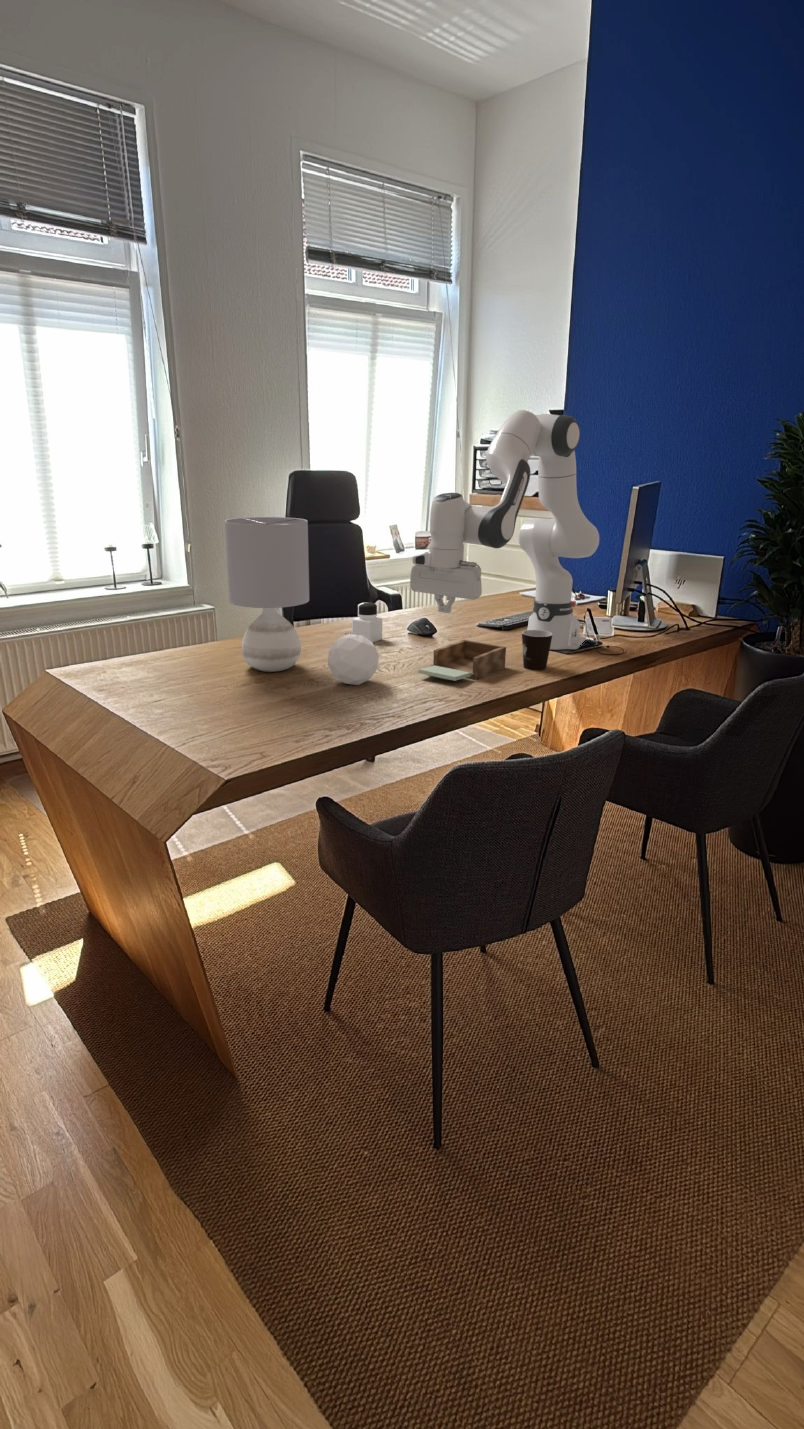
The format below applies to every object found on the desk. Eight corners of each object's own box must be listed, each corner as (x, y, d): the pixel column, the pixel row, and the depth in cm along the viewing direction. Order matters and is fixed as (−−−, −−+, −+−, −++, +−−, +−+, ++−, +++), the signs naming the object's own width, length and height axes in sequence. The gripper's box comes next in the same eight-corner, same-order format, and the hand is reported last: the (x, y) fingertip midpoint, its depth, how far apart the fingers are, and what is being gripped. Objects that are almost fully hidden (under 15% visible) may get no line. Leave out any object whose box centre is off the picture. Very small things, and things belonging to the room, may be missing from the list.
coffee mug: (549, 672, 220) (552, 637, 217) (518, 670, 222) (520, 635, 219) (550, 661, 231) (553, 628, 228) (521, 659, 233) (523, 626, 229)
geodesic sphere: (310, 657, 210) (326, 622, 200) (353, 650, 218) (370, 616, 208) (333, 699, 204) (350, 665, 194) (376, 690, 212) (395, 658, 202)
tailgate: (435, 665, 218) (418, 669, 212) (470, 672, 211) (455, 676, 205) (434, 670, 218) (418, 674, 212) (470, 677, 212) (454, 681, 205)
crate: (463, 659, 232) (464, 639, 230) (504, 667, 224) (506, 647, 223) (430, 671, 219) (431, 650, 217) (473, 680, 211) (474, 659, 209)
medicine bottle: (382, 639, 255) (382, 602, 251) (370, 643, 249) (370, 606, 245) (364, 636, 258) (364, 600, 254) (352, 640, 252) (351, 603, 248)
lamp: (326, 667, 221) (324, 521, 208) (266, 683, 206) (259, 526, 193) (277, 654, 235) (272, 515, 222) (217, 667, 220) (207, 519, 206)
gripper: (487, 561, 198) (485, 615, 202) (420, 554, 209) (420, 605, 213) (474, 564, 193) (472, 619, 197) (407, 556, 204) (406, 609, 209)
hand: (444, 612), depth 205 cm, fingers closed
